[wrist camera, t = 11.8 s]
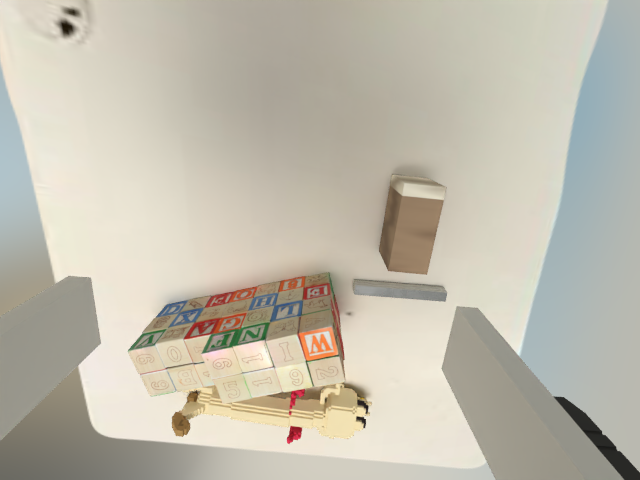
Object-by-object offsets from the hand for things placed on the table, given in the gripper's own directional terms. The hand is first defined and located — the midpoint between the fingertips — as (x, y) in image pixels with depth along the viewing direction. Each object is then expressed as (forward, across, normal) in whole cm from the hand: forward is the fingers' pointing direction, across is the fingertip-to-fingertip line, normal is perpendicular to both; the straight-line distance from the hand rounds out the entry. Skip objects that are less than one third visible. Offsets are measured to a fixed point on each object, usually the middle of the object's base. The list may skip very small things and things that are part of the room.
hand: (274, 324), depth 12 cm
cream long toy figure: (+27, -2, -29) cm, 40 cm away
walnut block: (+24, +11, -6) cm, 27 cm away
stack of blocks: (+27, -6, -16) cm, 32 cm away
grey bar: (+27, +12, -11) cm, 31 cm away
